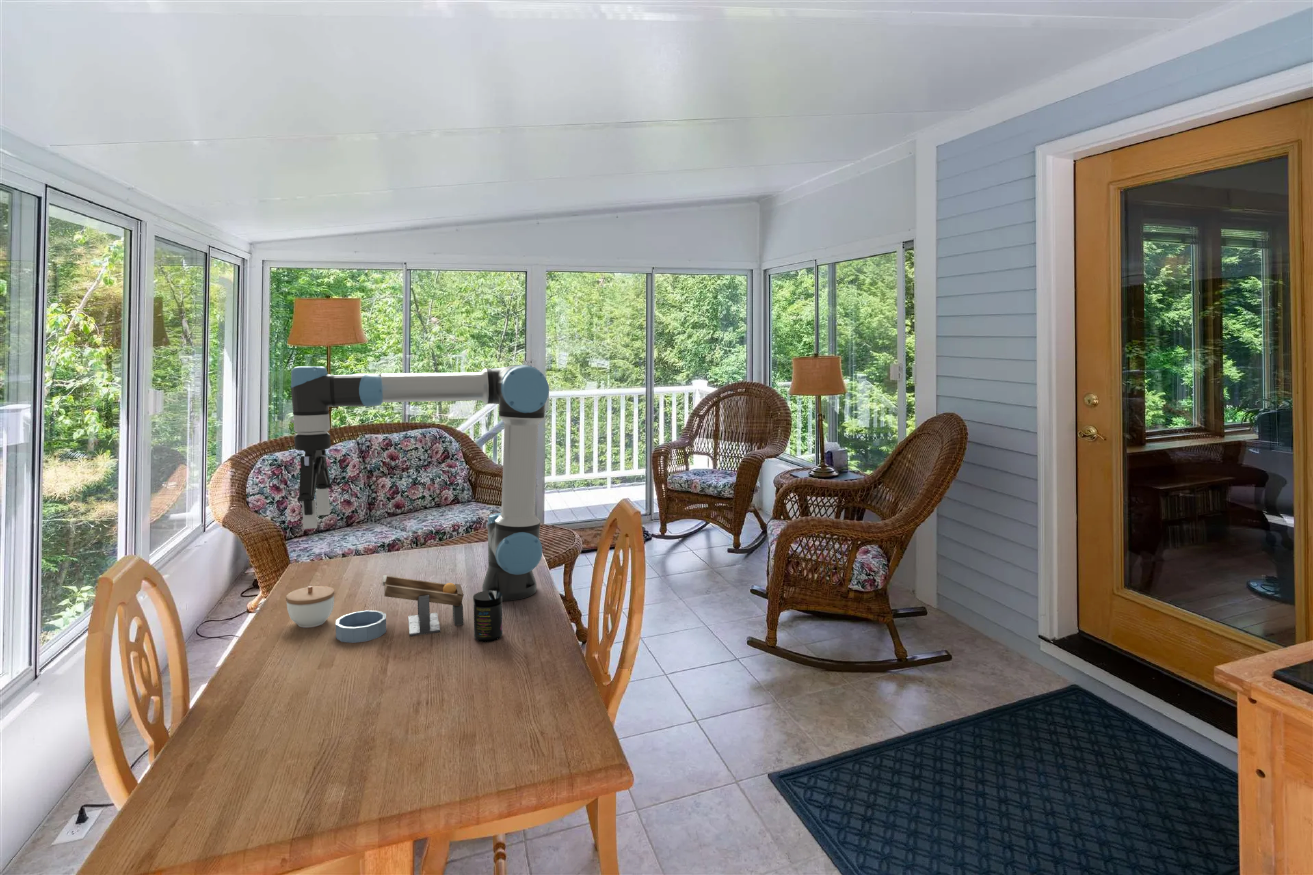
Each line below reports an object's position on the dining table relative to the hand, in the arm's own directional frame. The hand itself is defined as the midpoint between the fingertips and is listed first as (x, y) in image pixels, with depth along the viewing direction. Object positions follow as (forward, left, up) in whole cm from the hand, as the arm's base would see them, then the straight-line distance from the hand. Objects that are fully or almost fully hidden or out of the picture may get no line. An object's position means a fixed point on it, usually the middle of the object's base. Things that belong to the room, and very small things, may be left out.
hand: (317, 521), depth 158 cm
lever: (-23, +2, -20) cm, 30 cm away
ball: (-29, +4, -19) cm, 35 cm away
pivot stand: (-23, +4, -27) cm, 36 cm away
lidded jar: (+3, -7, -27) cm, 28 cm away
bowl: (-9, +4, -27) cm, 29 cm away
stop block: (-31, +4, -27) cm, 42 cm away
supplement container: (-37, +17, -27) cm, 49 cm away
